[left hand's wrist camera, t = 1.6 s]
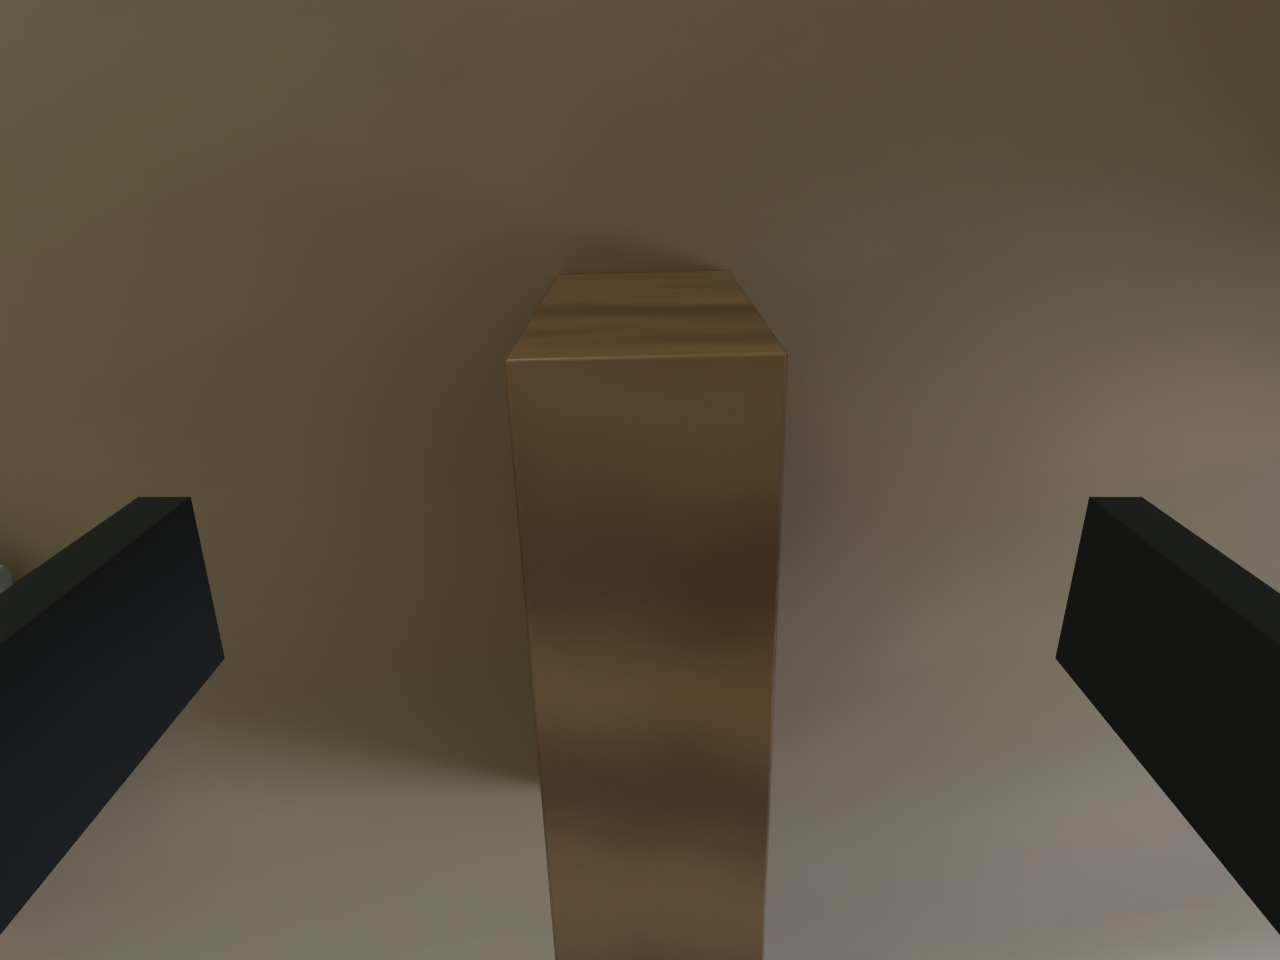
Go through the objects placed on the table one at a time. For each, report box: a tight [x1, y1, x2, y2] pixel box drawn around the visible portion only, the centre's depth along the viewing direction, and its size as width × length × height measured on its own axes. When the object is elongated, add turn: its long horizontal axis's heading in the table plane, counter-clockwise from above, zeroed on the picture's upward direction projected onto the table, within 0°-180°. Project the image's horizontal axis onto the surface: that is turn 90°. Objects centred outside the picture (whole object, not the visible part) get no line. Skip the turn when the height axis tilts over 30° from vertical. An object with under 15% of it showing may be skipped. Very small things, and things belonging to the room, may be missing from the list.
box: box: [505, 270, 788, 960], centre depth 27 cm, size 22×6×12 cm, turn 1°
